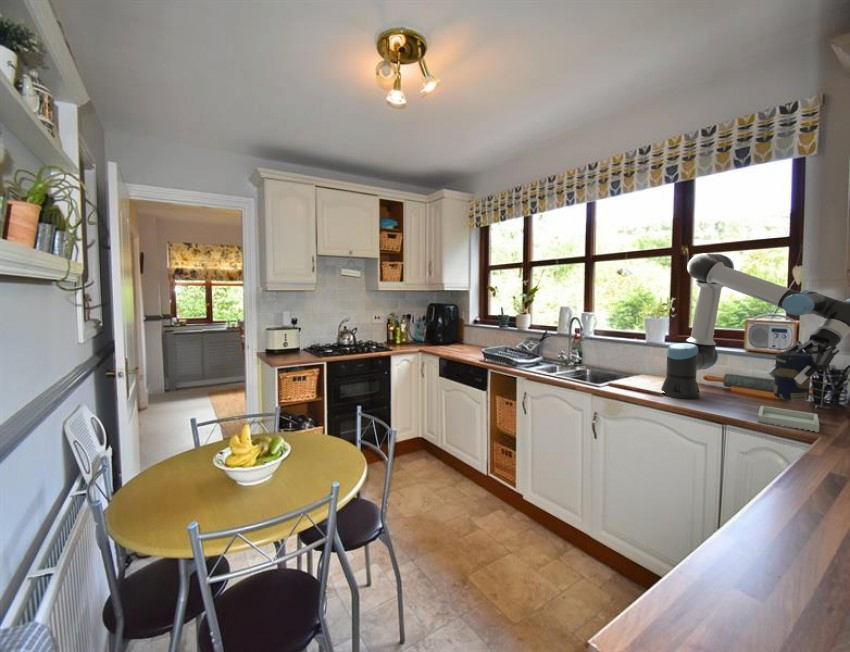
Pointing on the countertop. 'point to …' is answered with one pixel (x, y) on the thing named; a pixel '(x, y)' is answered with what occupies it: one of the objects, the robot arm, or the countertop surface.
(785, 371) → the canister
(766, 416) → the tray
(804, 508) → the countertop surface
